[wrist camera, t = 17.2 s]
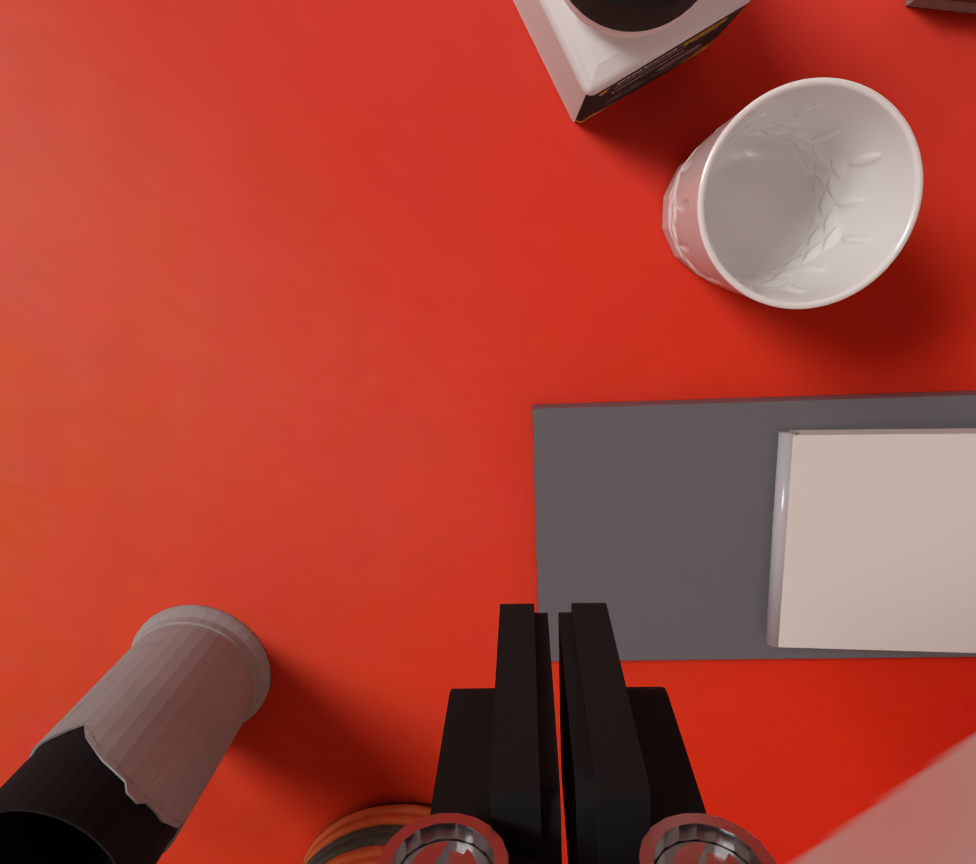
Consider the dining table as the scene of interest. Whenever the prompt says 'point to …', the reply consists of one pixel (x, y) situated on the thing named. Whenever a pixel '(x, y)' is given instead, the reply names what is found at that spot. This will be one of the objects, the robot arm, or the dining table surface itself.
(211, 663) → the glass holder
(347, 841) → the beer stein
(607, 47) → the medicine bottle
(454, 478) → the dining table surface
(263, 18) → the dining table surface
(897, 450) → the tile
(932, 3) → the white tiered shelf stand
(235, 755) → the dining table surface
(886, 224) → the white cup
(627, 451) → the base
